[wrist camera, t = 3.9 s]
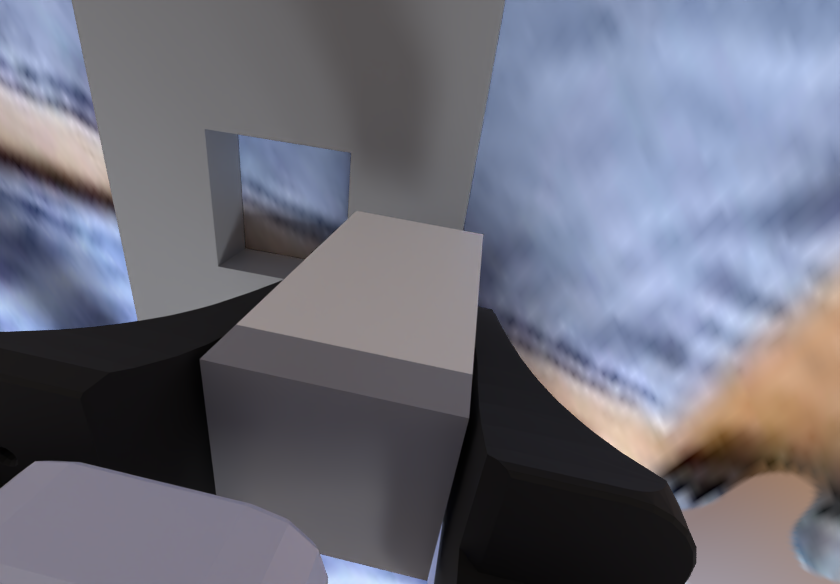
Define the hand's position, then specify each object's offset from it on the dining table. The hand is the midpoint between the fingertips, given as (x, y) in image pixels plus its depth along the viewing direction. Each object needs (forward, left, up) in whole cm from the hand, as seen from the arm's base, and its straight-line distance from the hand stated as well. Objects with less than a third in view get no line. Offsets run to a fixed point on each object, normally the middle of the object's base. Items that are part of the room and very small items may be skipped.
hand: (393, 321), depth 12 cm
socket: (0, +7, -9) cm, 11 cm away
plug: (0, 0, -2) cm, 3 cm away
